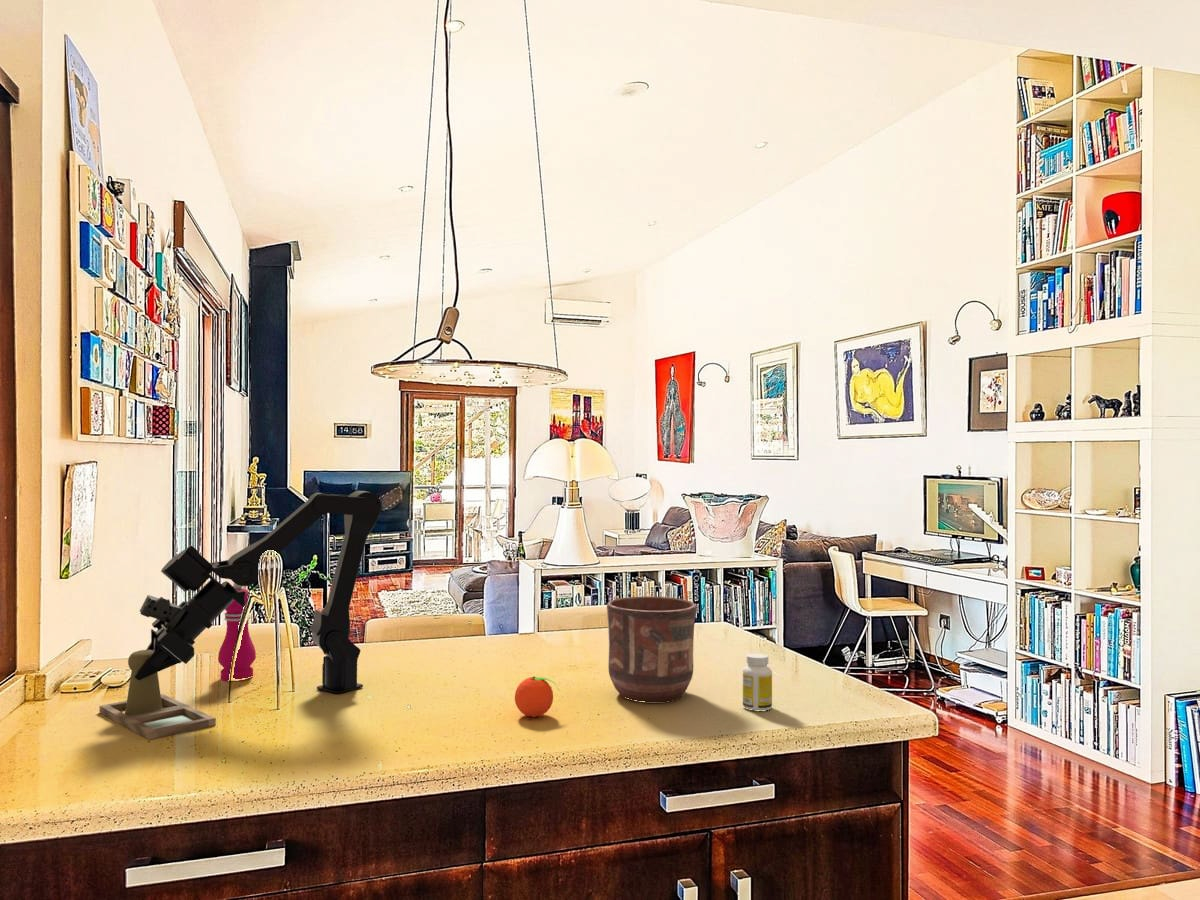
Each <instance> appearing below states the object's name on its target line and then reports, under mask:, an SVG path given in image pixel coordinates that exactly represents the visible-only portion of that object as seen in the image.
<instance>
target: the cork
mask: <svg viewBox="0 0 1200 900" xmlns="http://www.w3.org/2000/svg"><path fill="white" fill-rule="evenodd" d="M152 652H153V650H146V649H141V650H137V651H133V652H132V653H131V654H130V656H129V657H128V660H127V662H128V663H127V664H128V668H129V669H130V671H131V672H130V679H129V685H128V691H127V697H126V698H127V699H126V701H127V703H126V709H125V710H124V711H125V712H124V714H126V715H133V714H138V713H143V712H148V711H153V710H158V709H163V705H162V702H161V695H160V694H161V688H160V682H159V681H160V680H159V673H158V672H157V673H154V674H152V675H150V676H148V677H146V678H143V679H141V680H137V679H136V678H135V677H134V676H135V674H136V673H137V672H138V670H139V669H140V668H141V666H142V665H143V664H144V662H145V661H146V660H147V658H148V657H149V656H150V654H151V653H152Z"/></svg>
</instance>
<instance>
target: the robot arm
mask: <svg viewBox="0 0 1200 900" xmlns="http://www.w3.org/2000/svg"><path fill="white" fill-rule="evenodd" d="M382 509H383V503H382V500H381V499H380V497H379V496H378V495H377V494H375V493H374V492H371V491H366V490H355V491H354V492H352V493H350V494H348V495H347V494H332V493H331V494H328V493H323V492H315V493H313V494H312V495H310V496H309V497H308V499H307V500H306V501H305V502H304V503H302V505H300V506H299V507H298V508H297V509H295V511H293V512H291V514H290V515H288V516H287V517H286V518H285V519H284V520H283V521H281V522H280V524H278V525H277V526H275V528H273V529H272V530H271V531H269V533H267V534H266V535H265V536H264V537H263V538H261V539H260V540H257V541H256V542H254V543H252V544H250V545H247V546H246V547H244V548H242V549H240V550H239V551H238V552H235V554H233V555H231V556H230V557H229V559H226V560H220V561H215V562H209V561H208V559H206V558H205V557H204V556H202V554H201V553H199V551H198V550H197V548H195V547H194V545H192V544H189V545H188V546H187V547H186V548H184V549H183V550H182V551H180V552H179V553H178V554H177V555H174V556H172V558H170V560H169V561H167V562H166V564H165V565H164V566H163V567H162V568H161V571H160V572H161V573H162V574H163V575H164V576H165V577H167V578H168V579H169V580H170V581H172V583H174V585H176V586H177V587H178V588H180V590H181V591H183V592H188V591H189V590H190V591H191V592H196V591H197V590H199V591H197V592H196V593H195V594H194V595H193V596H192V598H190V599H189V600H188V601H187V600H183V601H182V602H181V603H180V604H178V605H177V604H174V603H172V602H171V601H170V599H169V598H168V599H167V598H164V597H162V596H160V597H155V596H153V595H150V594H147V596H146V598H145V599H144V601H143V603H142V605H141V608H140V609H139V612H140V615H142V616H144V617H146V618H153V619H154V622H152V623H151V626H152V627H153V628H154V629H157V630H154V629H153V628H151V629H150V643H149V645H148V646H147V648H146V649H145V650H153V652H152V653H151V654H150V656H149V657H148V658H147V660H146V661H145V662H144V664H143V665H142V666H141V668H140V669H139V670H138V672H137V673H136V674H135V676H134V677H135V678H136V679H137V680H141V679H143V678H146V677H148V676H150V675H152V674H154V673H157V672H161V671H163V670H165V669H168V668H170V667H173V666H175V665H177V664H181V663H184V665H185V664H186V665H187V664H188V663H189V662H190V661H191V660H192V659H193V658H194V657H195V647H194V644H195V643H196V641H195V640H196V639H197V638H198V637H199V636H200V635H201V634H202V633H203V632H204V631H205V630H206V629H208V630H210V628H211V627H212V626H213V622H214V621H215V620H216V619H217V618H218V617H219V616H220V615H221V614H223V612H224V611H226V610H225V609H226V608H227V607H228V606H229V605H230V604H231V603H232V602H233V601H234V600H235V601H236V602H237V603H238V604H240V605H241V606H244V605H245V594H246V592H245V591H244V590H240V591H238V590H237V589H235V588H234V587H233V585H232V584H231V583H230V582H228V581H227V580H231V581H232V582H233V584H234V583H235V584H237V585H240V586H242V587H250V586H253V585H255V584H256V583H257V582H258V581H259V580H258V563H259V559H260V556H261V555H262V553H264V552H265V551H267V550H274V551H276V552H277V553H278V555H279V554H280V553H281V552H282V551H283V550H285V548H287V547H288V546H289V545H290V544H291V543H293V542H294V541H295V540H296V539H297V538H298V537H299V536H300V535H302V534H303V533H304V532H305V531H307V530H308V529H309V528H310V527H311V526H312V525H313V524H314V523H316V522H317V521H318V520H319V519H320V518H321V517H322V516H324V515H325V514H333V515H334V514H335V515H344V516H343V521H344V535H343V540H342V543H341V548H340V551H339V556H338V559H337V564H336V567H335V571H334V576H333V579H332V583H331V587H330V591H329V594H328V599H327V602H326V604H325V605H324V607H323V609H322V610H318V609H314V615H313V622H312V624H311V625H310V627H309V631H311V637H312V641H313V642H314V644H315V645H316V646H317V647H319V649H321V650H322V653H323V654H324V655H325V656H323V659H322V660H323V661H322V668H321V669H322V672H321V673H322V674H321V675H322V681H321V683H322V684H321V685H318V686H316V690H319V691H324V692H328V693H332V694H345V693H347V692H349V691H350V690H351V691H354V690H356V689H357V688H358V689H361V688H363V687H364V684H361V683H358V659H359V656H360V653H361V649H360V648H359V647H358V646H357V645H356V644H354V643H353V642H352V640H350V628H351V619H350V616H351V615H350V605H351V602H352V598H353V594H354V589H355V587H356V582H357V579H358V578H357V577H358V574H359V569H360V566H361V562H362V558H363V555H364V551H365V550H364V549H365V546H366V542H367V539H368V537H369V535H370V533H371V532H372V531H373V529H374V527H375V525H376V524H377V521H378V519H379V517H380V514H381V512H382ZM276 555H277V554H276ZM278 555H277V556H278ZM211 573H214V574H215V575H216V576H217V577H219V578H220V579H225V580H226V581H223V582H222V583H220V582H219V581H218V579H216V578H215V577H214V576H213V575H211ZM209 579H210V580H209ZM208 580H209V581H208ZM206 582H207V583H206ZM203 585H204V586H203ZM202 586H203V587H202ZM199 588H200V589H199ZM360 687H361V688H360ZM358 689H357V690H358Z"/></svg>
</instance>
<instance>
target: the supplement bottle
mask: <svg viewBox="0 0 1200 900" xmlns="http://www.w3.org/2000/svg"><path fill="white" fill-rule="evenodd" d="M746 664H747V665H746V666H745V667H743V669H742V707H743V706H744V707H745V708H748V709H752V710H768V709H770V710H771V709H773V671H772V669H771V668H770V667H769V666H768V664H769V655H767V654H765V653H747V654H746ZM744 707H743V708H744ZM745 708H744V709H745ZM768 711H769V710H768Z"/></svg>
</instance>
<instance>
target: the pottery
mask: <svg viewBox="0 0 1200 900" xmlns="http://www.w3.org/2000/svg"><path fill="white" fill-rule="evenodd" d="M606 614H607V629H608V630H607V631H608V662H607V663H608V664H607V665H608V674H609V677H610V681H611V682H612V685H613V686H614V689H615V690H616V692H617V693H618V694H620V695H621V697H622V696H624V697H626V698H629V699H632V700H637V701H645V702H666V703H668V702H667V701H671V702H673V701H672V700H675V701H677V700H679V699H680V697H682V696H683V694H684V693H685V692H686V691H687V690H688V687H689V686H690V683H691V681H692V678H693V674H694V634H695V623H696V616H697V615H696V614H697V604H695V603H694V602H693V601H690V600H688V599H684V598H678V597H677V598H676V597H669V596H646V595H645V596H644V595H643V596H628V597H627V596H626V597H621V598H617V599H612V600H610V601H609V602H607V603H606ZM624 697H623V698H624ZM626 698H625V699H626ZM678 698H679V699H678ZM676 699H677V700H676Z"/></svg>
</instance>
